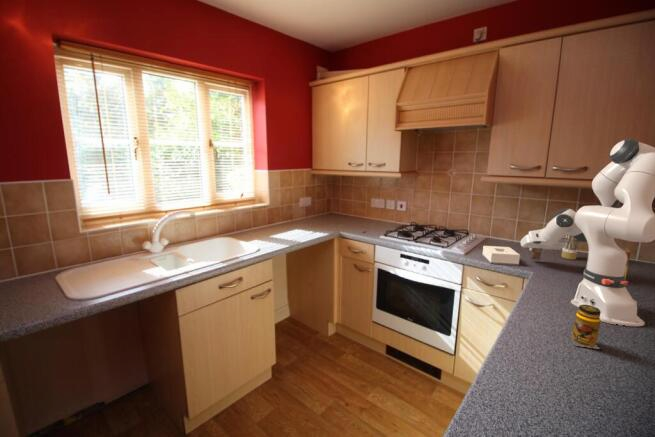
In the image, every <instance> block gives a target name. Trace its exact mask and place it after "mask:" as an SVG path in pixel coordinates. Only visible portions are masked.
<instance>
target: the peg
mask: <svg viewBox="0 0 655 437" xmlns="http://www.w3.org/2000/svg"><path fill="white" fill-rule="evenodd" d="M541 250H542V248H534V250H533V251H531V257H530V258H531V260H535V261H539V260H541V257H542V256H541V255H542V251H541Z"/></svg>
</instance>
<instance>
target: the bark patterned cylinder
mask: <svg viewBox="0 0 655 437" xmlns="http://www.w3.org/2000/svg"><path fill="white" fill-rule="evenodd" d="M564 238H568V239H569V241H568V242H567V243H566V245H565V247H564V248H563V249H561V250H562V251H561V257H562V258H563V259H566V260H571V261H572V260H573V261H574V260H576V259H577V255H578V250H579V245H580V244H579V243H580V242H578V241H577V240H576V239H575V238H574V237H572V235H570V234H569V233H567V234H566V235H565V236H564Z"/></svg>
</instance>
